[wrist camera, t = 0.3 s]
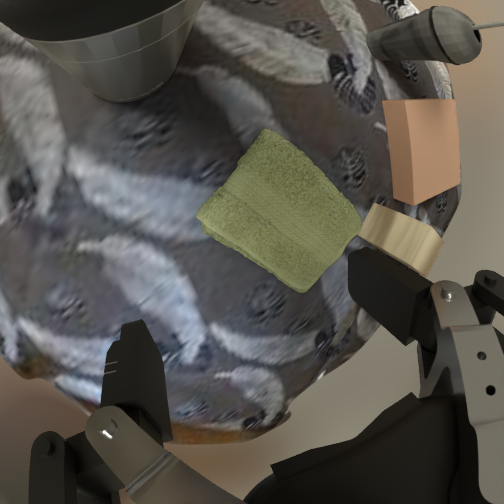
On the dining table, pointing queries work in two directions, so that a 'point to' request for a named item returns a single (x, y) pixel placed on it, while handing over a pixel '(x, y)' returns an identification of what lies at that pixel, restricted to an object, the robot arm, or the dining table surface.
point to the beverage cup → (430, 37)
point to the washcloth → (281, 213)
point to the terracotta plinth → (422, 147)
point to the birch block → (402, 238)
